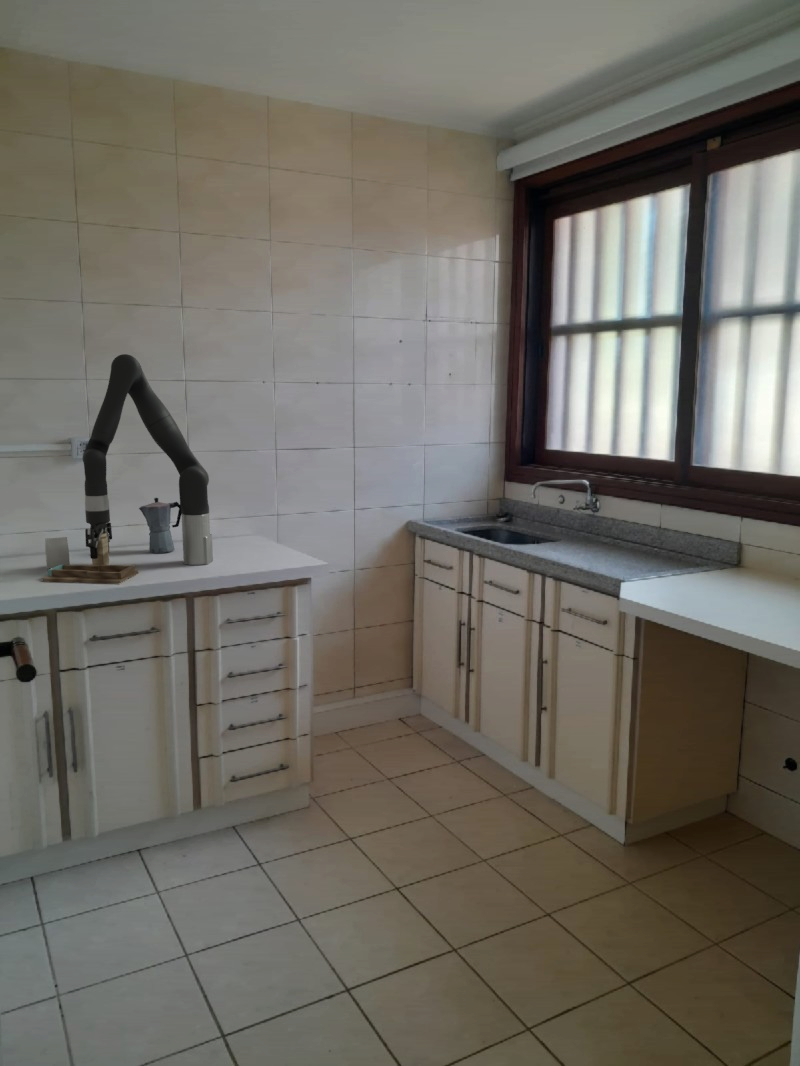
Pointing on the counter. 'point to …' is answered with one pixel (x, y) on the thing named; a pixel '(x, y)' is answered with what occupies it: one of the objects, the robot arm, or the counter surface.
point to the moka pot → (160, 525)
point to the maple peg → (102, 552)
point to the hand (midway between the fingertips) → (100, 555)
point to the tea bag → (56, 552)
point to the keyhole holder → (90, 573)
